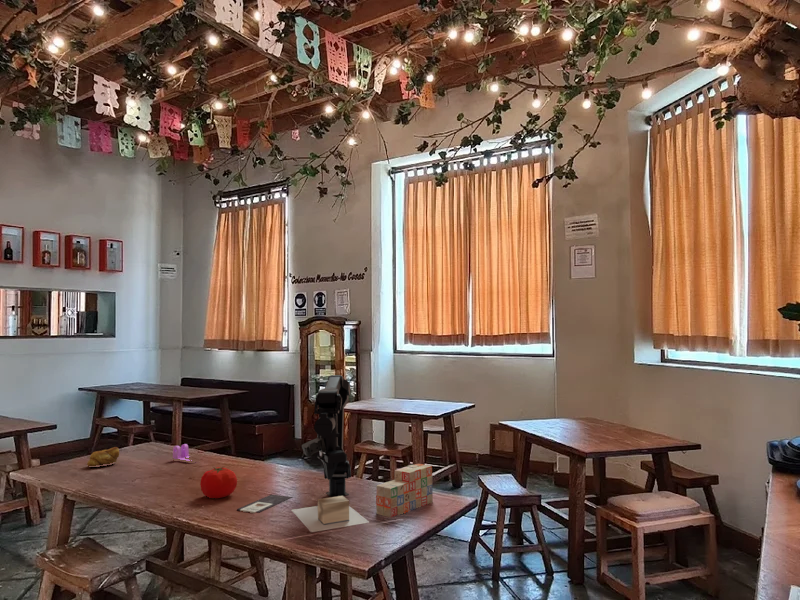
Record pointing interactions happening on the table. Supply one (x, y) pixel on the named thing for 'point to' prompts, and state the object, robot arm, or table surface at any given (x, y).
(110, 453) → the bread roll
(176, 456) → the purple twin post stand
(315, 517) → the rubber mat
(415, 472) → the stack of blocks
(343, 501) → the beech block
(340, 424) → the robot arm
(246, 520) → the table surface
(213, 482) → the tomato
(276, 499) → the chocolate bar
